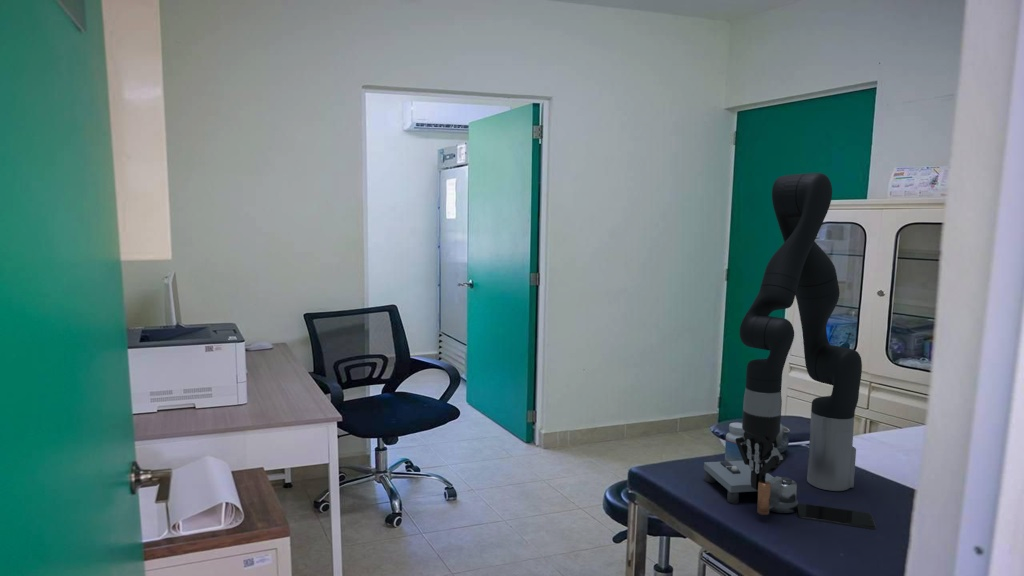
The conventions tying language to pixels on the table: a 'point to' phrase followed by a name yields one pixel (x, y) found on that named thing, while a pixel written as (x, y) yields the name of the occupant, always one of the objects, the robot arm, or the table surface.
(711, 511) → the table surface
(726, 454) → the pill bottle
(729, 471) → the slide switch panel
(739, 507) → the table surface
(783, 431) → the mug
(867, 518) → the smartphone
